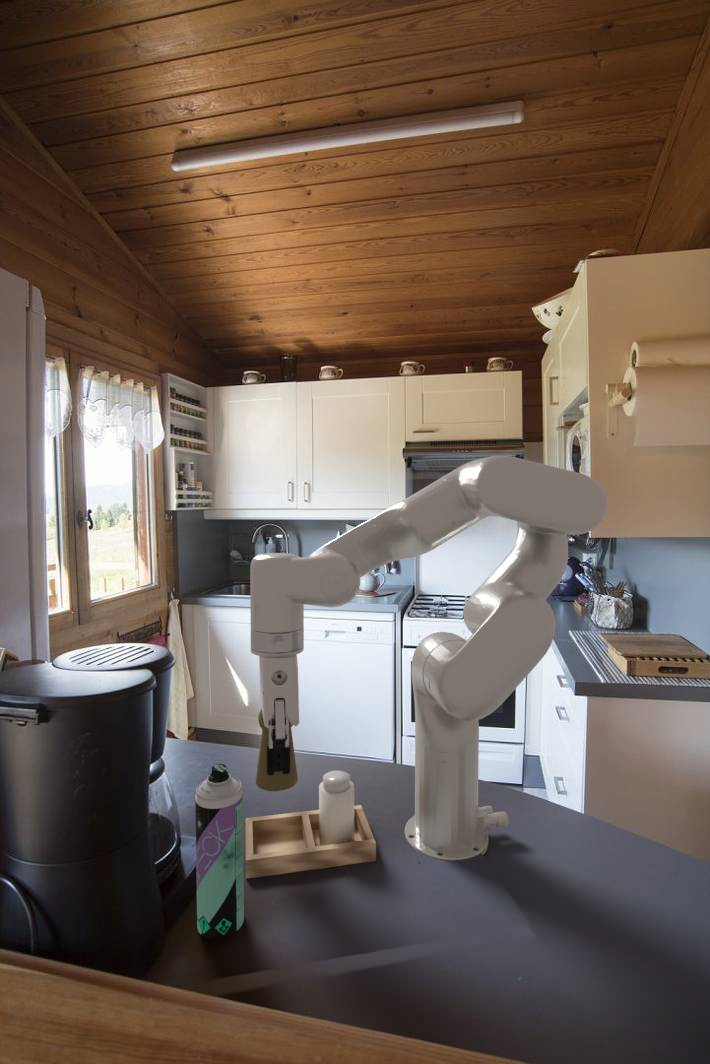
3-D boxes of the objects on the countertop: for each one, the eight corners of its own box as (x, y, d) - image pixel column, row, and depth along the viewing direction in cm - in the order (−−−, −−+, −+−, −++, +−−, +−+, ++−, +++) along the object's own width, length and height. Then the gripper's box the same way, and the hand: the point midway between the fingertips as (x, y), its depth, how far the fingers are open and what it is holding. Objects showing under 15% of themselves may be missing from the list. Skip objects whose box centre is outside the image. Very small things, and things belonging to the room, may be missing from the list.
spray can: (205, 911, 68) (203, 755, 67) (248, 912, 68) (246, 756, 67) (190, 946, 62) (188, 778, 61) (237, 948, 62) (235, 778, 61)
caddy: (360, 826, 86) (360, 804, 86) (376, 867, 76) (375, 843, 76) (245, 840, 82) (245, 818, 82) (246, 885, 72) (245, 860, 72)
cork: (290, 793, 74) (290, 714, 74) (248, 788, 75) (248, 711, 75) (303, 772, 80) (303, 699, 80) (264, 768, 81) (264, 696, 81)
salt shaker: (350, 830, 83) (350, 767, 83) (357, 851, 78) (357, 784, 77) (317, 834, 82) (316, 770, 82) (322, 856, 77) (321, 788, 76)
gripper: (310, 654, 69) (310, 793, 70) (297, 626, 86) (297, 739, 87) (251, 657, 68) (251, 799, 69) (249, 628, 84) (250, 743, 85)
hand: (277, 764), depth 78 cm, fingers closed on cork, 4 cm apart
